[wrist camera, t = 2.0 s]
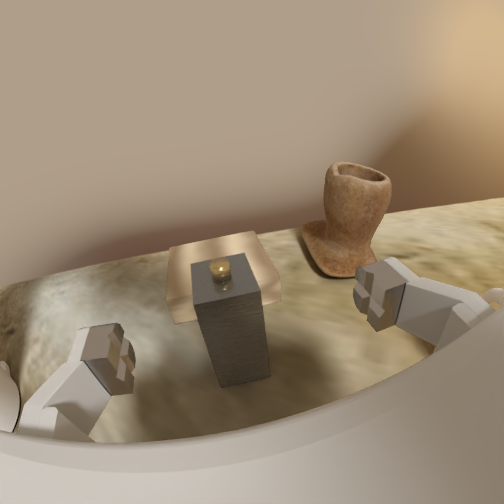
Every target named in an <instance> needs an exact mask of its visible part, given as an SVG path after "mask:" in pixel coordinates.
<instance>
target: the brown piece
mask: <svg viewBox="0 0 504 504" xmlns="http://www.w3.org/2000/svg"><path fill="white" fill-rule="evenodd" d="M391 189H392V185H391V181H390V179H389V178H388V177H387V176H386V175H385V174H383V173H381V172H379V171H377V170H374V169H372V168H369V167H365V166H363V165H359V164H355V163H348V162H337V163H334V164H332V165H331V166H330V167H329V169H328V170H327V173H326V177H325V186H324V207H325V213H326V220H322V221H314V222H310V223H308V224H305V225H303V226H302V227H301V229H300V232H301V234H302V237H303V240H304V242H305V244H306V246H307V248H308V250H309V252H310V254H311V256H312V258H313V259H314V261H315V263H316V264H317V266H318V267H319V268H320V269H321V270H322V271H323V272H324V273H325V274H327V275H329V276H333V277H340V278H341V277H355V271H356V269H357V267H360V266H364V265H367V264H371V263H374V262H377V260H376V258H375V256H374V253H373V251H372V249H371V247H370V244H371V239H372V237H373V235H374V233H375V231H376V229H377V227H378V226H379V224H380V222H381V220H382V218H383V216H384V214H385V212H386V210H387V208H388V205H389V202H390V199H391Z"/></svg>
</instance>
